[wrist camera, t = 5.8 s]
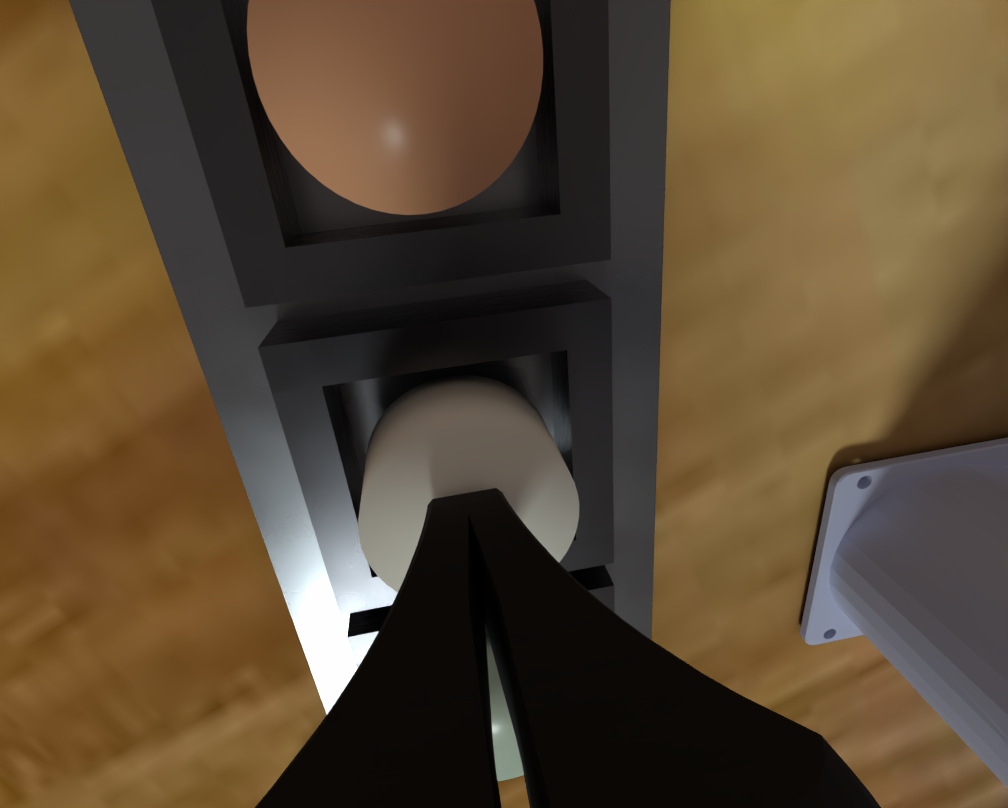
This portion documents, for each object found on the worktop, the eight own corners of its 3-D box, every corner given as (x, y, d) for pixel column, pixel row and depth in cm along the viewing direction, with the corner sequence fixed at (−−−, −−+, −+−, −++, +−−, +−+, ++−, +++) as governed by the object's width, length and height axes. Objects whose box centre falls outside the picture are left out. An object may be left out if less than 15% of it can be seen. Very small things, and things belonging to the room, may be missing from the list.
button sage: (554, 592, 17) (576, 661, 15) (560, 689, 19) (582, 762, 17) (409, 620, 16) (410, 695, 14) (432, 716, 18) (435, 795, 16)
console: (651, -286, 10) (740, -440, 7) (636, 694, 22) (669, 771, 19) (6, -268, 9) (-164, -442, 6) (356, 755, 21) (349, 846, 18)
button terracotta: (504, -73, 10) (533, -136, 8) (523, 188, 12) (551, 198, 10) (251, -56, 9) (203, -118, 7) (314, 213, 11) (291, 229, 9)
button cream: (544, 361, 12) (575, 408, 10) (555, 518, 14) (583, 586, 12) (347, 391, 12) (334, 447, 10) (385, 548, 14) (381, 626, 12)
